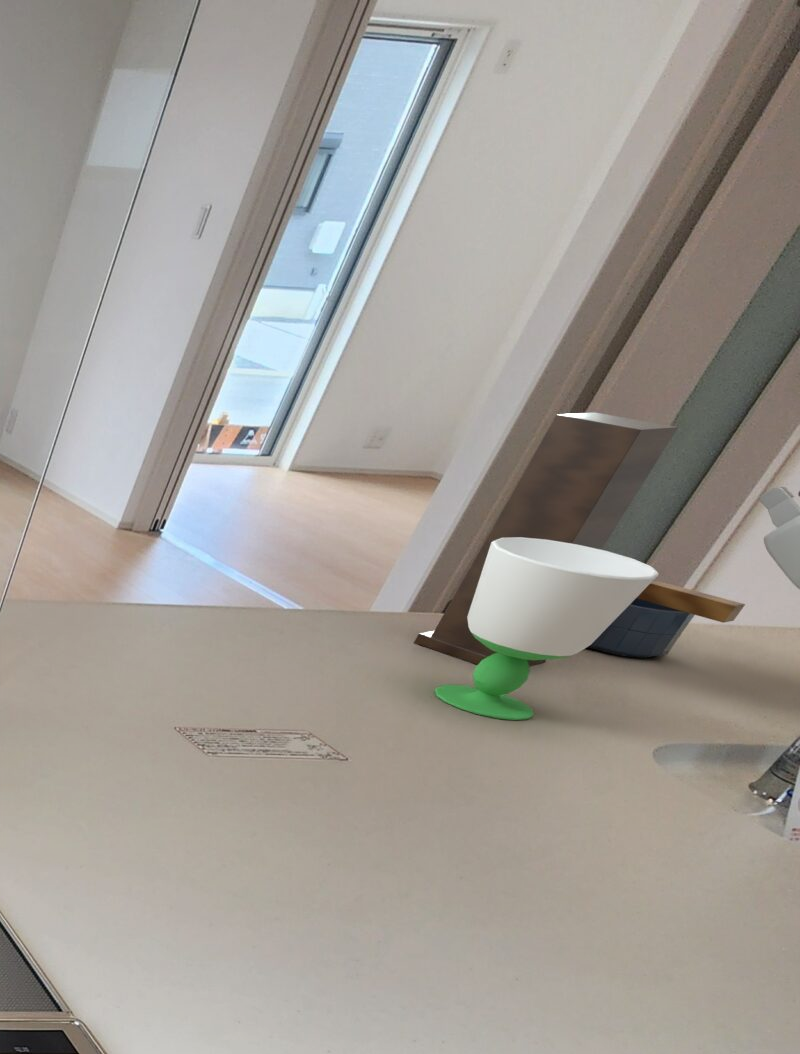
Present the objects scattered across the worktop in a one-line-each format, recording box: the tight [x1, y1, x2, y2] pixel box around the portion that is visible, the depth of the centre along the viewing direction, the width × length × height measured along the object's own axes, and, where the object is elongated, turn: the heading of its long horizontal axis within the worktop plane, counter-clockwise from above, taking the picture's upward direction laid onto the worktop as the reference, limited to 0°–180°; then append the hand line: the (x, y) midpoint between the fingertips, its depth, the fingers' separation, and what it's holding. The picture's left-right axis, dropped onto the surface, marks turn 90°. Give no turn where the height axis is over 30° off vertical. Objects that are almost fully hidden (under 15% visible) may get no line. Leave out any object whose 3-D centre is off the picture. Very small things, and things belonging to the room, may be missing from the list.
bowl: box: [587, 598, 695, 659], centre depth 138 cm, size 11×11×6 cm
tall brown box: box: [413, 411, 679, 667], centre depth 126 cm, size 10×10×26 cm
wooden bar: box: [637, 579, 746, 623], centre depth 135 cm, size 18×2×2 cm, turn 25°
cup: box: [434, 537, 659, 721], centre depth 115 cm, size 14×14×16 cm
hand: (789, 488), depth 123 cm, fingers open, 8 cm apart
